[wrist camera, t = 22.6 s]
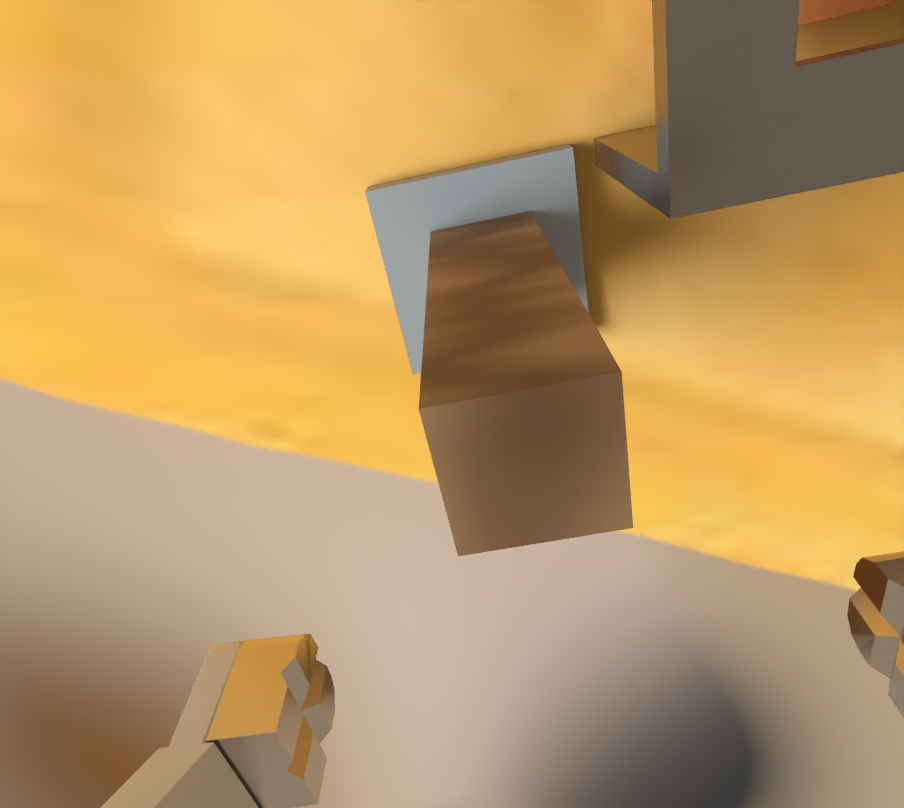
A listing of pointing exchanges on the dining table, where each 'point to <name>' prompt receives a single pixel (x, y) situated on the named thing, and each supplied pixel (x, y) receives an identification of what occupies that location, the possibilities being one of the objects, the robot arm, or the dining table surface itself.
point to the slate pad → (472, 221)
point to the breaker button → (833, 8)
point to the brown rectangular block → (518, 393)
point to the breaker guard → (756, 110)
